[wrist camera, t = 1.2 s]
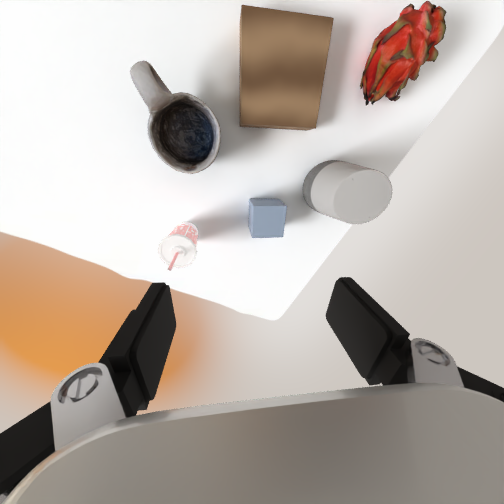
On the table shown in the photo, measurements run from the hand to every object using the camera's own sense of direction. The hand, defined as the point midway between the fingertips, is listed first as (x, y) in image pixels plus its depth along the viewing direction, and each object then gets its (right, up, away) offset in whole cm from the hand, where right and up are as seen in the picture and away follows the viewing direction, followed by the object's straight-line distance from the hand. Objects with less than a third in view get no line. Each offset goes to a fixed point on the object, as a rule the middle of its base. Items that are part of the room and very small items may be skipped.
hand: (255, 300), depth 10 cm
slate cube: (+2, +11, +29) cm, 31 cm away
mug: (-11, +23, +20) cm, 33 cm away
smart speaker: (+14, +16, +27) cm, 35 cm away
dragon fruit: (+20, +33, +20) cm, 43 cm away
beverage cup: (-14, +7, +28) cm, 32 cm away
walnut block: (+4, +30, +19) cm, 36 cm away
